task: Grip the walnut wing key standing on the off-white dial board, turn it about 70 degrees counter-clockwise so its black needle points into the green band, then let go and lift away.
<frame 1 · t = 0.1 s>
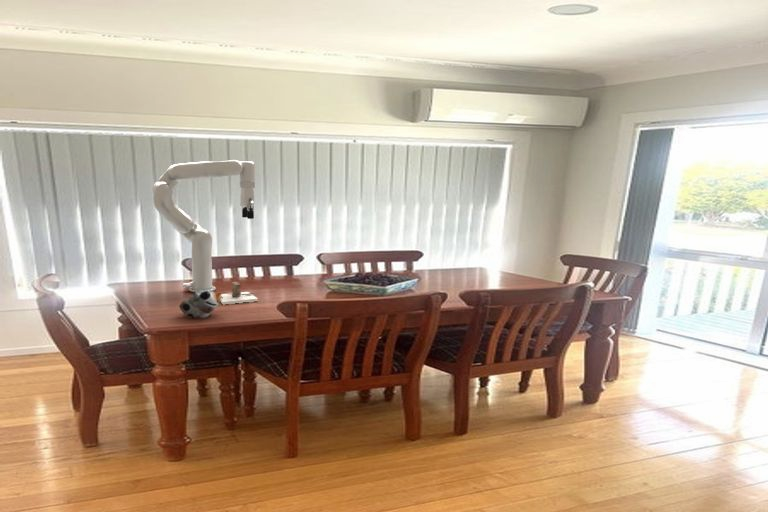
hand: (247, 218, 268), 37 cm above the table, tool pointing down, fingers open, 9 cm apart
dial board: (236, 299, 242), on the table
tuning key: (242, 289, 243), point 5 cm above the table, hinge at 0.0°
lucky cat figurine: (201, 315, 214), on the table
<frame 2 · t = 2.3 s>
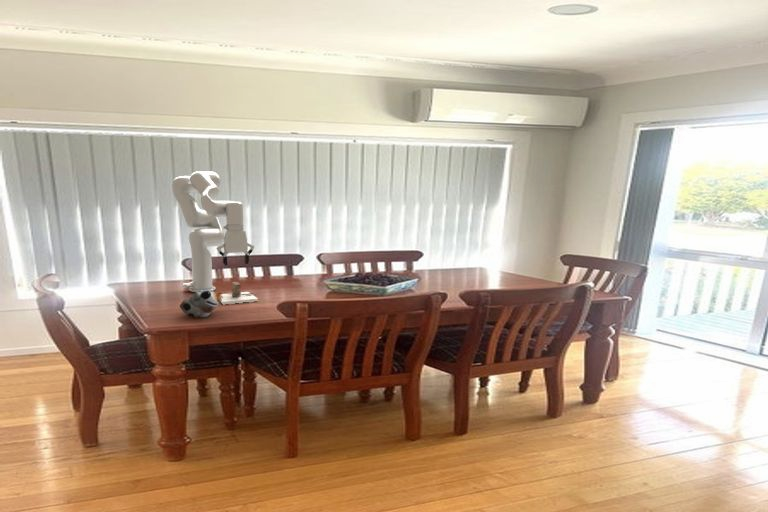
hand: (236, 264, 240), 17 cm above the table, tool pointing down, fingers open, 9 cm apart
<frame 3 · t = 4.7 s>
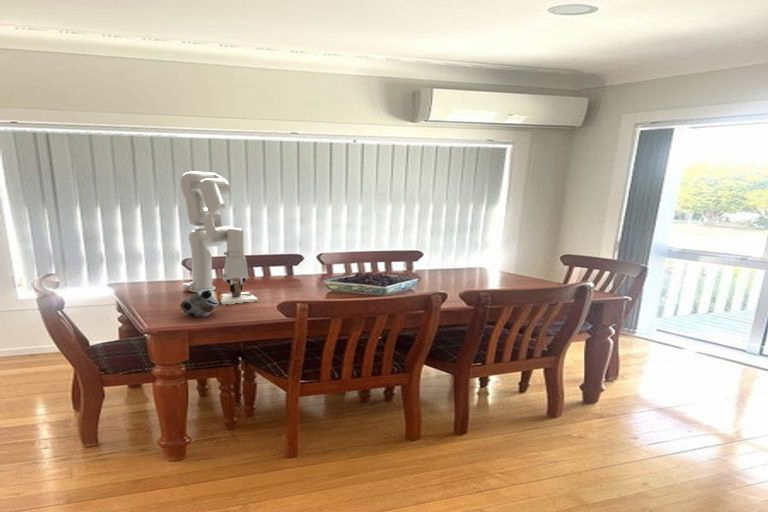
hand: (236, 292, 242), 4 cm above the table, tool pointing down, fingers closed on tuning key, 2 cm apart
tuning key: (242, 289, 243), point 5 cm above the table, hinge at 0.0°, touching gripper
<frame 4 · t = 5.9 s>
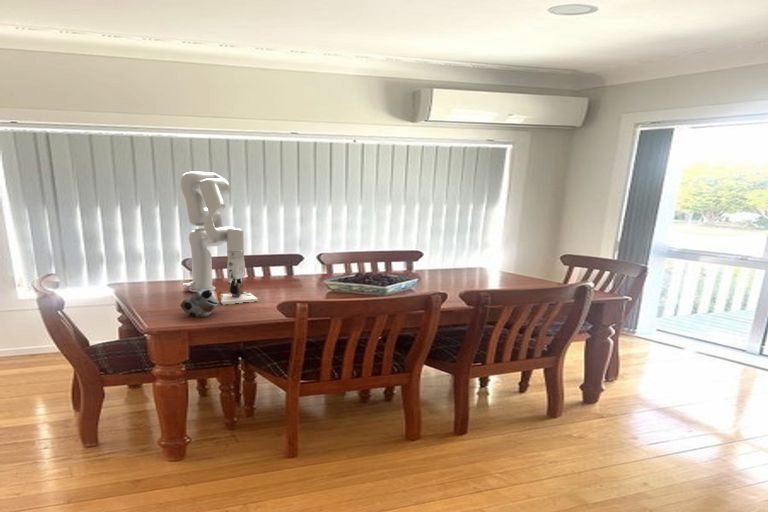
hand: (236, 292, 242), 4 cm above the table, tool pointing down, fingers closed on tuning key, 3 cm apart
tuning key: (240, 288, 244), point 5 cm above the table, hinge at 27.2°, touching gripper
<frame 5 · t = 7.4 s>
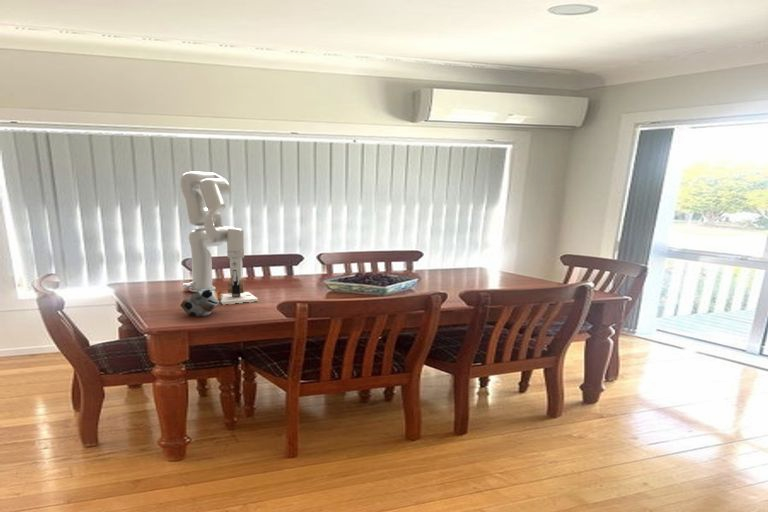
hand: (236, 292, 242), 4 cm above the table, tool pointing down, fingers closed on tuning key, 2 cm apart
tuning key: (237, 288, 245), point 5 cm above the table, hinge at 67.2°, touching gripper
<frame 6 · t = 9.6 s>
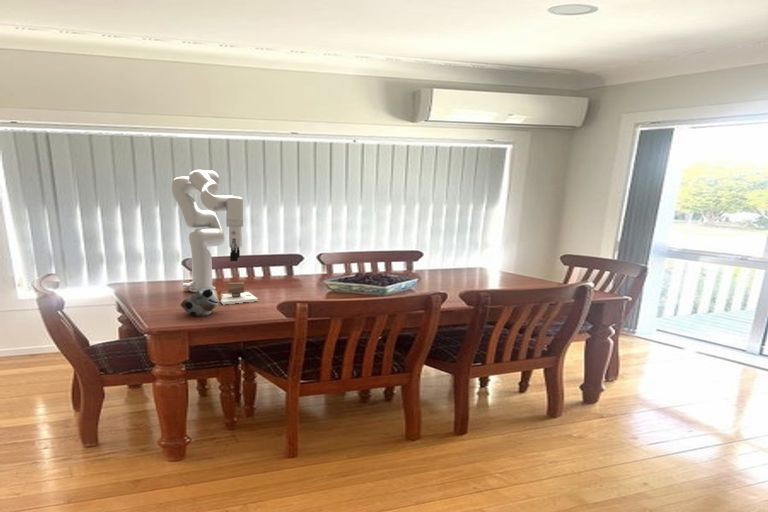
hand: (235, 259, 240), 19 cm above the table, tool pointing down, fingers open, 9 cm apart
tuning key: (235, 288, 245), point 5 cm above the table, hinge at 77.9°
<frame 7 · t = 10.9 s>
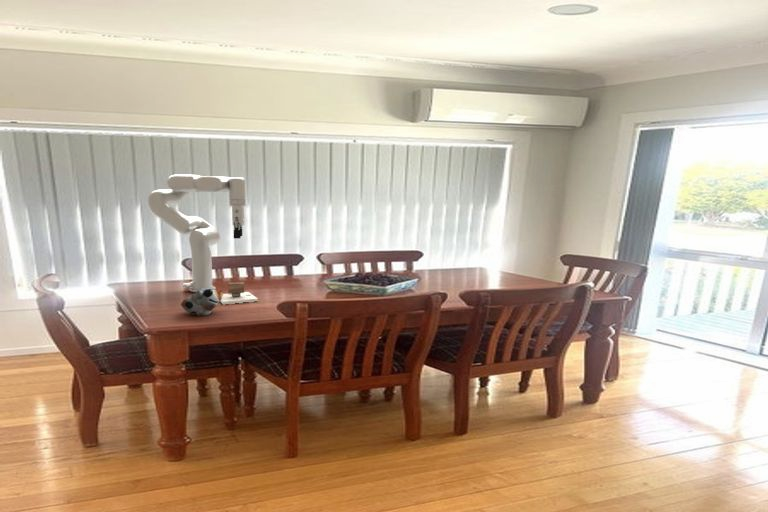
hand: (238, 237, 253), 28 cm above the table, tool pointing down, fingers open, 9 cm apart
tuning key: (235, 288, 245), point 5 cm above the table, hinge at 79.3°
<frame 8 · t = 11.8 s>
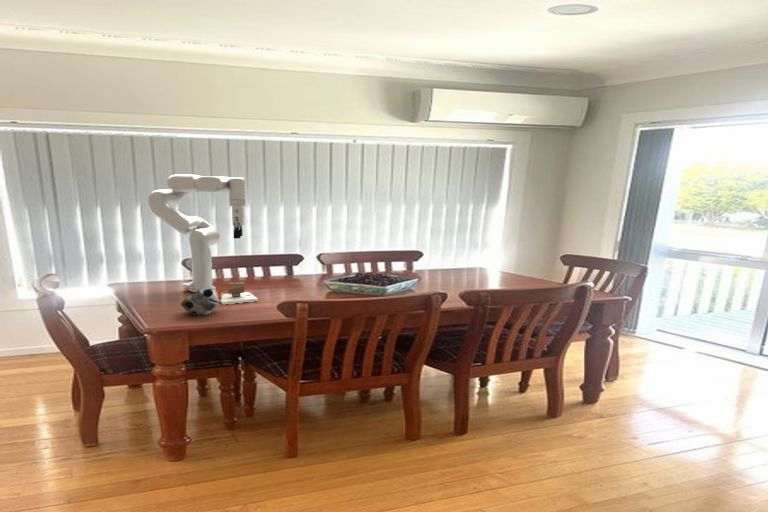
hand: (238, 237, 253), 28 cm above the table, tool pointing down, fingers open, 9 cm apart
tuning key: (235, 288, 245), point 5 cm above the table, hinge at 79.7°
at the end: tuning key at +80° (first picture: +0°); the gripper is holding nothing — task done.
